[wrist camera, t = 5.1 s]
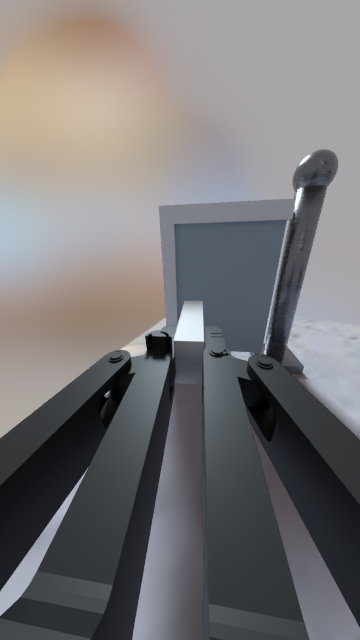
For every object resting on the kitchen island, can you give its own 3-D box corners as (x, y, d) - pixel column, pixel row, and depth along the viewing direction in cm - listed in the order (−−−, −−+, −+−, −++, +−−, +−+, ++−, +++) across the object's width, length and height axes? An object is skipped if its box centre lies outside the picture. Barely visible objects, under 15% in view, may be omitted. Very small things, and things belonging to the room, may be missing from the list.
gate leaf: (260, 345, 24) (286, 203, 17) (264, 354, 22) (296, 198, 15) (170, 342, 25) (163, 209, 19) (168, 350, 24) (158, 205, 17)
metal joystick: (283, 350, 25) (331, 161, 17) (301, 373, 21) (379, 130, 12) (248, 348, 26) (276, 165, 17) (258, 371, 21) (303, 137, 13)
